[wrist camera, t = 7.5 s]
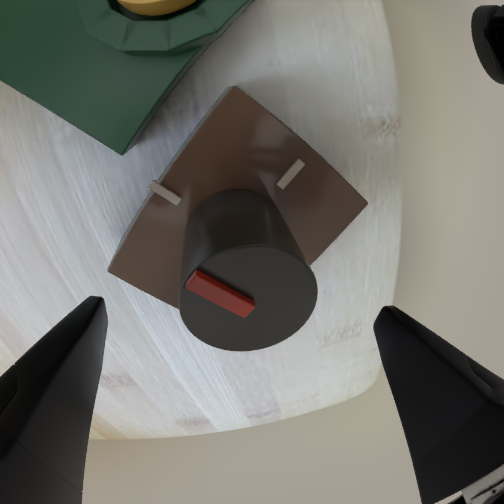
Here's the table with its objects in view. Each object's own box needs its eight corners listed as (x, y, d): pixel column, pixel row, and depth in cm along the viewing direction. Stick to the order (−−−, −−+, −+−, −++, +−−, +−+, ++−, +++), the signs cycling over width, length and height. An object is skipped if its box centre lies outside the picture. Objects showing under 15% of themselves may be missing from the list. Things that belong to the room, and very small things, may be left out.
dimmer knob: (304, 226, 13) (347, 294, 9) (243, 292, 15) (259, 371, 10) (226, 168, 11) (238, 220, 7) (165, 248, 13) (152, 327, 9)
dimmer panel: (346, 186, 16) (374, 208, 13) (236, 304, 19) (242, 341, 16) (224, 82, 12) (228, 80, 9) (115, 238, 15) (100, 270, 13)
